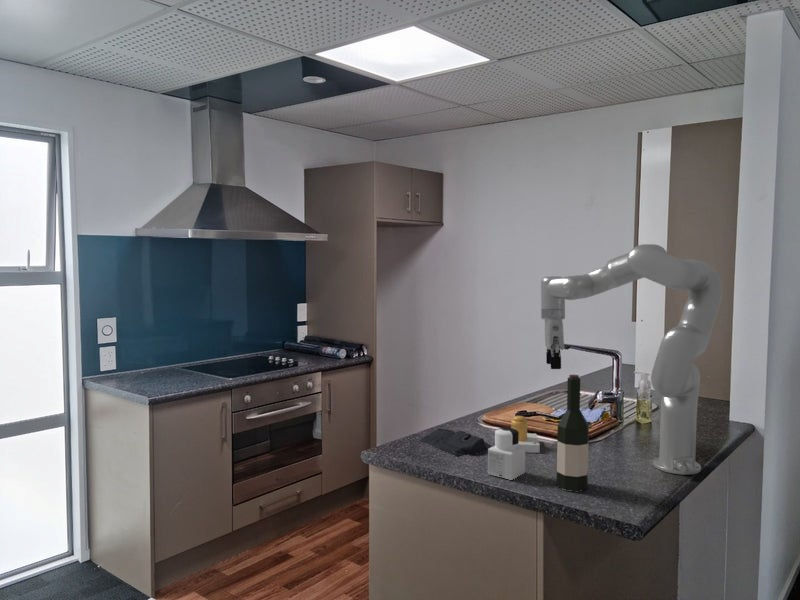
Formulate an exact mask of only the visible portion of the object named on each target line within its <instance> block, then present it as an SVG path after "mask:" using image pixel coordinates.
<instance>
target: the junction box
mask: <svg viewBox="0 0 800 600" xmlns="http://www.w3.org/2000/svg"><path fill="white" fill-rule="evenodd" d="M540 445H541V443H540V441H539V437H538V434H537V433H528V432H527V440H525V441H519V445H518V446H521V447H525V453H531V454H532V453H533V454H536V453H537V454H540V452H541V451H540V448H541V446H540Z"/></svg>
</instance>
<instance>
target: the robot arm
mask: <svg viewBox="0 0 800 600" xmlns="http://www.w3.org/2000/svg"><path fill="white" fill-rule="evenodd" d="M641 279H648V281H649V280H650V281H652V282H654V283H657V284H659V285H661V286H662V287H665V288H668V289H670V290H674V291H678V292H687V291H689V294H688V297H687V299H686V302H685V304H684V306H683V310H682V312H681V317H680V319H679V322H678V325H677V326H674V327H671V328H670V329H669V330H667V332H666V333H665V334H664V336H663V337H662V340H661V342H660V346H659V348H658V352H657V355H656V357H655V360H654V364H653V367H652V370H651V375H650V383H651V386H652V389H653V390H654V391H655V393H657V394H658V395H659V396H660V397H661V401H660V413H659V414H660V419H659V451H658V452H659V453H658V454H659V455H658V457H656V458H654V459H653V466H654V467H655V468H656V469H658V470H659V471H662V472H665V473H669V474H675V475H686V476H688V475H689V476H690V475H696V474H698V473H700V472H701V471H702V465H701V464H700V463H698V462H697V461H696V450H697V449H696V448H697V446H696V444H697V417H698V404H699V403H698V402H699V395H700V394H699V392H700V388H701V387H700V386H701V373H700V370H699V368H698V366H697V365H696V364H695V360H696V358H697V357H699V356H701V355H702V354H703V353H704V352H706V350H707V348H708V346H709V342H710V339H711V336H712V332H713V329H714V325H715V322H716V319H717V316H718V312H719V308H720V305H721V302H722V298H723V283H722V280H721V277H720V276H719V274H718V272H717V271H716V270H715V269H714V268H713V267H712V266H711V265H710V264H708V263H707V262H705V261H704V260H699V259H690V258H689V259H683V258H680V257H676V256H674V255H672V254H668V251H667V250H666V249H665V248H664V247H663V246H661V245H659V244H656V243H655V244H654V243H652V244H651V243H649V244H648V243H647V244H643V243H642V244H639V245H636V246H634V247H633V248H632V249H631V250H630V251H629V252H627V253H625V254H622V255H619V256H616V257H613V258H611V259H609V260H608V261H607V262H606V264H605V265H604V266H603V267H600V268H598V269H595V270H593V271H591V272H588V273H584V274H580V275H569V276H563V277H562V276H544V277H542V278H541V280H540V301H541V303H540V305H541V306H540V307H541V309H540V311H541V313H540V315H541V316H540V318H541V320H544V342H545V347H546V352H545V354H546V357H545V358H546V364H547V365H550V369H551V370H561V369H562V356H561V351H563V350H565V341H564V340H565V339H564V337H565V336H564V323H563V320H565V319H566V300H567V301H572V300H573V301H575V300H581V299H587V298H590V297H593V296H596V295H600V294H602V293H605V292H607V291H610V290H612V289H615V288H618V287H622V286H624V285H626V284H629V283H632V282H635V281H638V280H641Z"/></svg>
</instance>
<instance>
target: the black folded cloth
mask: <svg viewBox="0 0 800 600" xmlns="http://www.w3.org/2000/svg"><path fill="white" fill-rule="evenodd" d="M421 442H423V443H427V444H429V445H432V446H433V447H435V448H438V449H440V450H442V451H445V452H448V453H450V454H452V455H455V456H458V457H459V456H463V455H468V454H474V455H477V454H476V453H479V454H481V453H480V452H482V453H484V452H483V451H485V450H486V451H485V452H488V449H489V448H491V447H493V446H492V444H489V443H488V442H486V441H485V439H484V437H479V436H477V435H472V434H470V433H468V432H466V431H463V430H458V431H456V432H455V431H453V430H451V429H447V428H438V429H436V430H433V431H431V432H430V433H429V434H427V435H425V436H423V437H422V438H421V439H419V443H421ZM423 443H422V444H423ZM433 447H432V448H433ZM435 448H434V449H435ZM440 450H439V451H440ZM442 451H441V452H442ZM445 452H444V453H445ZM450 454H449V455H450ZM452 455H451V456H452Z"/></svg>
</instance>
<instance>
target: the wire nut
mask: <svg viewBox="0 0 800 600" xmlns="http://www.w3.org/2000/svg"><path fill="white" fill-rule="evenodd" d="M510 420H511V421H510V422H511V423H510V428H513V429H515V430H517V431H518V432H519V441H525V440H527V433H528V420H527V418H526V417H525V416H524V415H514V416H513V418H511V419H510Z"/></svg>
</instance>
